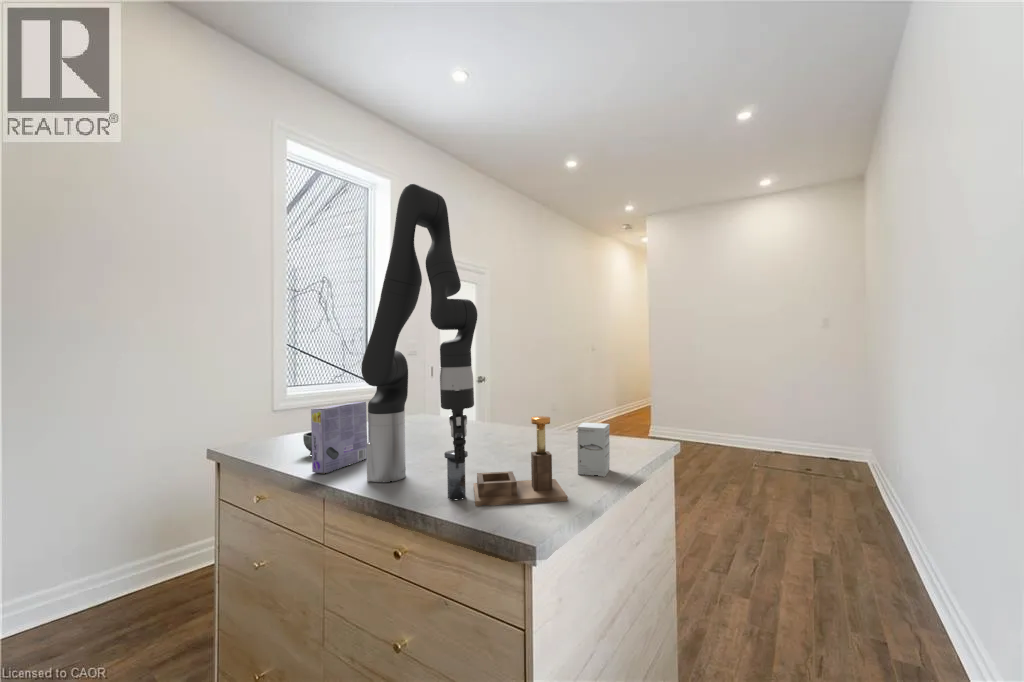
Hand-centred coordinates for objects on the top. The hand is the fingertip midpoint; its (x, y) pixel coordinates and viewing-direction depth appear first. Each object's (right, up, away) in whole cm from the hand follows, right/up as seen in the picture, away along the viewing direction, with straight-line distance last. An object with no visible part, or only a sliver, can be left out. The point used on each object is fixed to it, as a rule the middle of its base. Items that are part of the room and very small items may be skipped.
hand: (459, 458), depth 104 cm
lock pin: (+19, -1, +2) cm, 19 cm away
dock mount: (+13, -8, +1) cm, 16 cm away
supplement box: (+34, -8, +18) cm, 39 cm away
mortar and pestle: (-49, -10, +43) cm, 65 cm away
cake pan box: (-37, -10, +29) cm, 48 cm away
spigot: (-1, -9, 0) cm, 9 cm away
